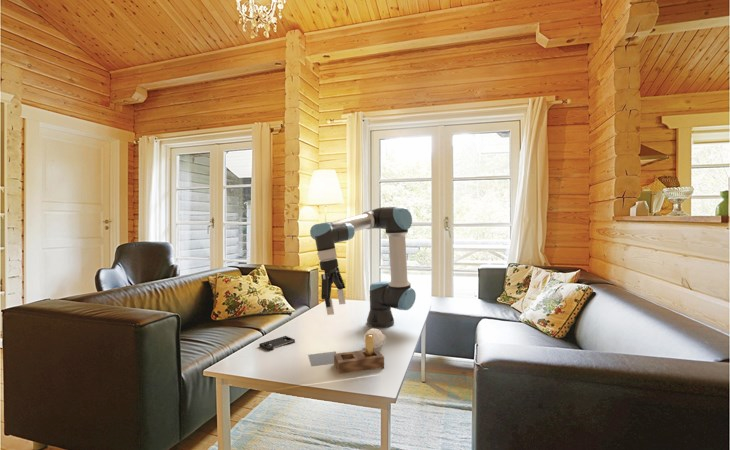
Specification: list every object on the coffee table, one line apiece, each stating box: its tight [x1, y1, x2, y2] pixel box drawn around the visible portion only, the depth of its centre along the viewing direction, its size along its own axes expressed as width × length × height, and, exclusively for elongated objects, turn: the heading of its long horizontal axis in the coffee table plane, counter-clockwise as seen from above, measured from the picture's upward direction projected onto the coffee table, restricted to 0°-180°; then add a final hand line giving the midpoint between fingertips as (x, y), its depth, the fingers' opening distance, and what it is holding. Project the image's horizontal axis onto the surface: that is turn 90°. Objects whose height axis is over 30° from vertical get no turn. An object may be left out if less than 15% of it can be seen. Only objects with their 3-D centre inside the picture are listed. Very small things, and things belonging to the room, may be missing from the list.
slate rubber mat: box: [307, 351, 337, 367], centre depth 141 cm, size 12×12×1 cm
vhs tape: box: [258, 335, 296, 352], centre depth 159 cm, size 14×8×2 cm, turn 138°
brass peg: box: [364, 333, 373, 357], centre depth 135 cm, size 3×3×12 cm
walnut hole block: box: [333, 348, 385, 375], centre depth 134 cm, size 18×9×4 cm, turn 106°
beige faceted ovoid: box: [363, 327, 387, 349], centre depth 154 cm, size 9×9×12 cm
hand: (336, 309), depth 143 cm, fingers open, 13 cm apart
